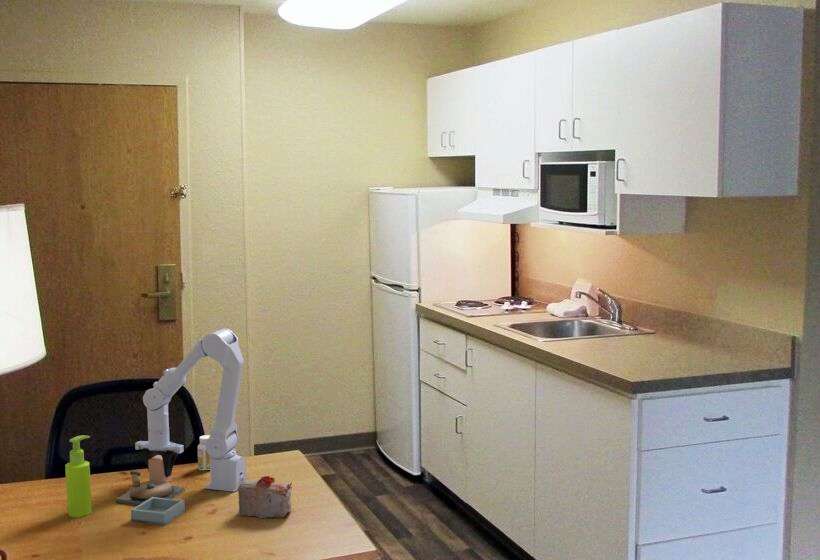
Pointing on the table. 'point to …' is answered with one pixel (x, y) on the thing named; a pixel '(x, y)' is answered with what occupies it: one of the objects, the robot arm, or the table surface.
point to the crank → (148, 488)
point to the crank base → (130, 500)
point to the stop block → (157, 469)
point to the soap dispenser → (78, 481)
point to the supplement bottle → (203, 454)
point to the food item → (264, 498)
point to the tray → (158, 511)
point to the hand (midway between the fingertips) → (160, 475)
